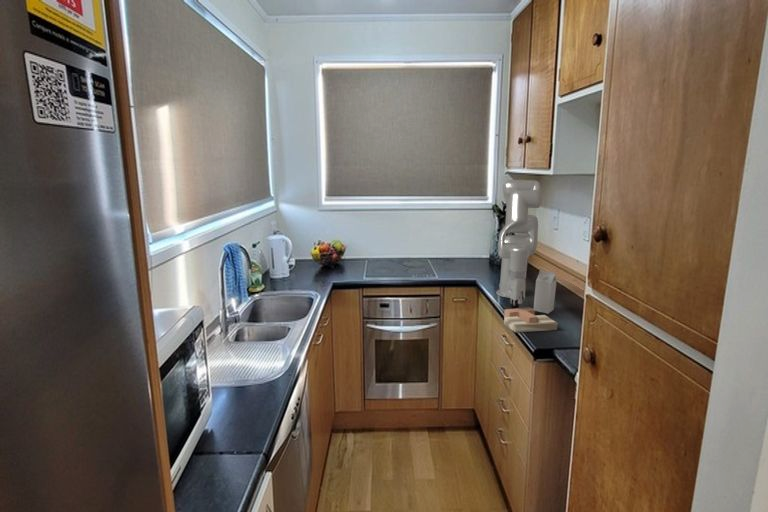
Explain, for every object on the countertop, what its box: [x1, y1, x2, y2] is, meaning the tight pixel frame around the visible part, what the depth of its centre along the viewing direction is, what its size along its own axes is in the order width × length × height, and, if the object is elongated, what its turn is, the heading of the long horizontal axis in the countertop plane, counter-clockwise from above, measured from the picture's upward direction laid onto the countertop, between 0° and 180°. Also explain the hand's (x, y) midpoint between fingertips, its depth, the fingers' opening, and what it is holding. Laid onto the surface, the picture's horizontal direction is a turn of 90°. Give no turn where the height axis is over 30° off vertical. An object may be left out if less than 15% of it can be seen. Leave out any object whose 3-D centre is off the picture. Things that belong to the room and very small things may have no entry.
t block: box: [503, 306, 538, 323], centre depth 191 cm, size 12×13×4 cm
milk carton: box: [533, 269, 558, 314], centre depth 204 cm, size 7×7×19 cm
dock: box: [503, 314, 559, 333], centre depth 185 cm, size 10×19×3 cm, turn 101°
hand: (514, 312), depth 199 cm, fingers closed
